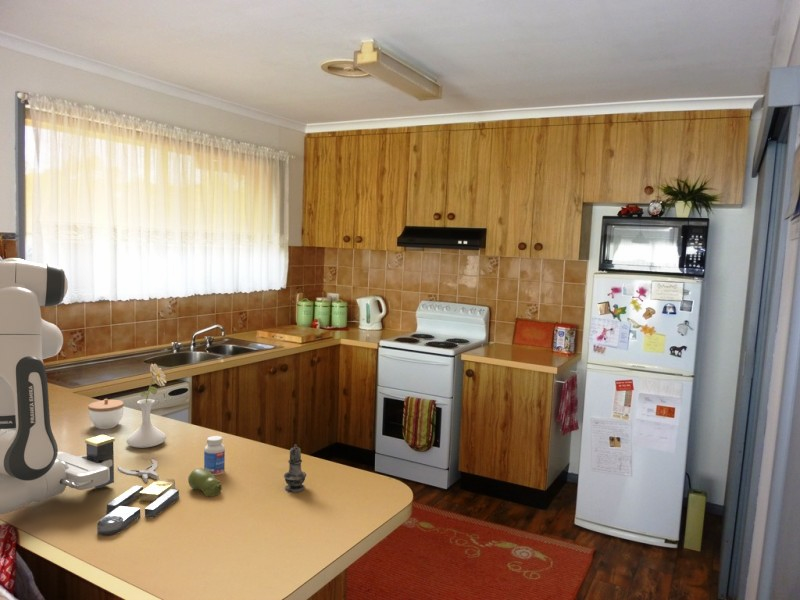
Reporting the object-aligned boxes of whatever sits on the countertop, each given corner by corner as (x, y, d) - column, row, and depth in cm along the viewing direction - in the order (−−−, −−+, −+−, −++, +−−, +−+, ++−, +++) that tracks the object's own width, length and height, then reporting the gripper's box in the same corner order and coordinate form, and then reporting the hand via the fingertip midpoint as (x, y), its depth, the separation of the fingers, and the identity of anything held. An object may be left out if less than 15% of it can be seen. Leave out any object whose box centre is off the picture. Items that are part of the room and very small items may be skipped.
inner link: (161, 484, 153) (161, 477, 153) (178, 486, 152) (178, 479, 152) (139, 500, 144) (139, 492, 144) (158, 502, 143) (158, 494, 143)
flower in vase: (148, 453, 175) (146, 371, 172) (117, 448, 178) (116, 367, 176) (177, 439, 187) (177, 362, 184) (148, 434, 191) (147, 359, 188)
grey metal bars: (135, 493, 148) (135, 485, 148) (178, 497, 146) (178, 489, 146) (78, 532, 128) (77, 523, 127) (128, 538, 126) (127, 529, 126)
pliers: (153, 455, 170) (171, 472, 158) (153, 461, 170) (171, 477, 159) (116, 463, 164) (132, 480, 152) (116, 468, 164) (132, 486, 152)
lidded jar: (130, 425, 200) (130, 398, 199) (100, 433, 191) (99, 405, 190) (112, 419, 205) (112, 393, 204) (82, 427, 196) (81, 399, 195)
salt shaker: (310, 485, 155) (310, 441, 154) (299, 494, 150) (299, 449, 149) (290, 482, 157) (291, 438, 156) (279, 490, 152) (279, 445, 150)
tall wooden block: (97, 489, 147) (96, 443, 146) (86, 484, 149) (85, 439, 148) (115, 482, 151) (114, 438, 150) (103, 478, 153) (102, 434, 152)
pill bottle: (218, 477, 159) (218, 442, 158) (200, 475, 160) (200, 440, 159) (228, 469, 164) (228, 435, 163) (210, 467, 165) (210, 434, 164)
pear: (202, 462, 155) (228, 477, 149) (200, 480, 156) (225, 496, 150) (184, 469, 150) (210, 484, 145) (182, 487, 151) (208, 504, 146)
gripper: (75, 475, 133) (129, 456, 145) (24, 456, 143) (79, 439, 155) (76, 501, 134) (129, 480, 146) (25, 480, 143) (79, 462, 156)
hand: (103, 459), depth 150 cm, fingers closed on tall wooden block, 4 cm apart
